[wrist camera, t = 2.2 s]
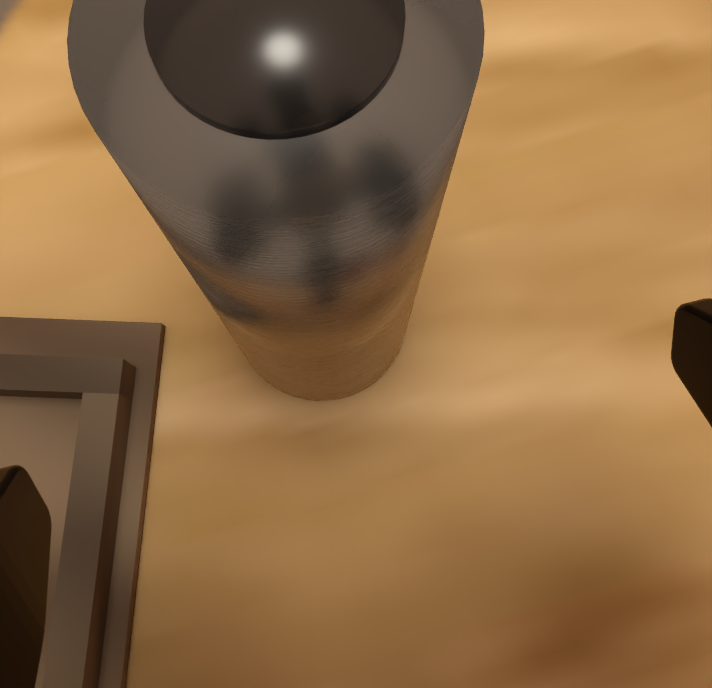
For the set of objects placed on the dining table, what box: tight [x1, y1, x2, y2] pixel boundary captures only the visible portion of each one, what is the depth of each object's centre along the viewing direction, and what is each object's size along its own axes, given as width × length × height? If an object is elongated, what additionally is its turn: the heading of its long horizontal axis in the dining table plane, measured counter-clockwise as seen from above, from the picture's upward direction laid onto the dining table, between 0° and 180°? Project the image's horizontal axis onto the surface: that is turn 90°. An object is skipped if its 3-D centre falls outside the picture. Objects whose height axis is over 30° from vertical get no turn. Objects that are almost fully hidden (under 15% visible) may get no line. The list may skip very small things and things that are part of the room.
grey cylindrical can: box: [67, 0, 484, 401], centre depth 15 cm, size 5×5×13 cm
